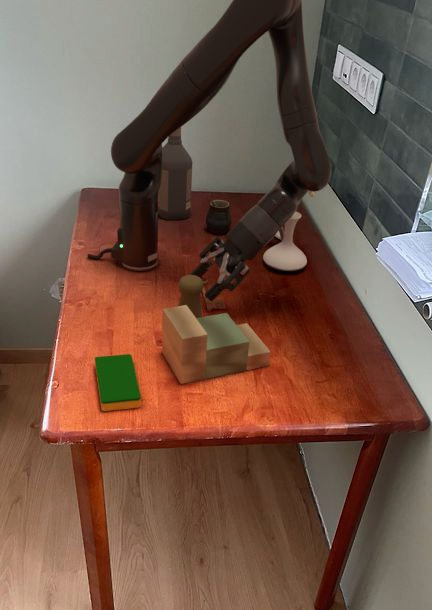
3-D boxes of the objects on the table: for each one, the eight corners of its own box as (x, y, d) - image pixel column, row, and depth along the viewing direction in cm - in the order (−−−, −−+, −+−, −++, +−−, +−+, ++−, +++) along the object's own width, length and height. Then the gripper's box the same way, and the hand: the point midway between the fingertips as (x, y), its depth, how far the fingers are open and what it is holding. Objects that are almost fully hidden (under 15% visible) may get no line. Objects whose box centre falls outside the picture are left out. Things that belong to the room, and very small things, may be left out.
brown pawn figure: (199, 331, 133) (202, 287, 126) (172, 327, 134) (173, 282, 127) (205, 317, 138) (208, 273, 131) (179, 313, 138) (180, 269, 132)
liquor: (161, 221, 177) (162, 110, 159) (154, 208, 184) (155, 101, 166) (191, 219, 179) (196, 110, 161) (184, 207, 186) (188, 101, 168)
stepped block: (245, 336, 133) (250, 294, 126) (268, 365, 125) (274, 322, 118) (161, 352, 126) (162, 308, 120) (180, 384, 118) (182, 338, 112)
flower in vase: (294, 280, 154) (309, 181, 139) (254, 266, 159) (265, 169, 143) (315, 261, 163) (332, 166, 148) (277, 249, 168) (290, 156, 152)
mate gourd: (235, 230, 176) (238, 195, 169) (221, 238, 170) (224, 204, 164) (214, 223, 178) (216, 189, 172) (200, 231, 173) (201, 197, 167)
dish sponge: (131, 363, 123) (131, 353, 121) (141, 407, 112) (141, 397, 111) (95, 366, 121) (94, 356, 120) (101, 412, 111) (101, 401, 109)
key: (225, 311, 141) (213, 279, 152) (226, 308, 140) (214, 276, 152) (200, 311, 139) (190, 278, 151) (201, 307, 139) (191, 275, 150)
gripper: (228, 208, 131) (177, 264, 134) (258, 235, 121) (201, 295, 124) (248, 228, 136) (198, 282, 139) (278, 257, 126) (223, 314, 129)
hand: (200, 288), depth 131 cm, fingers open, 8 cm apart
